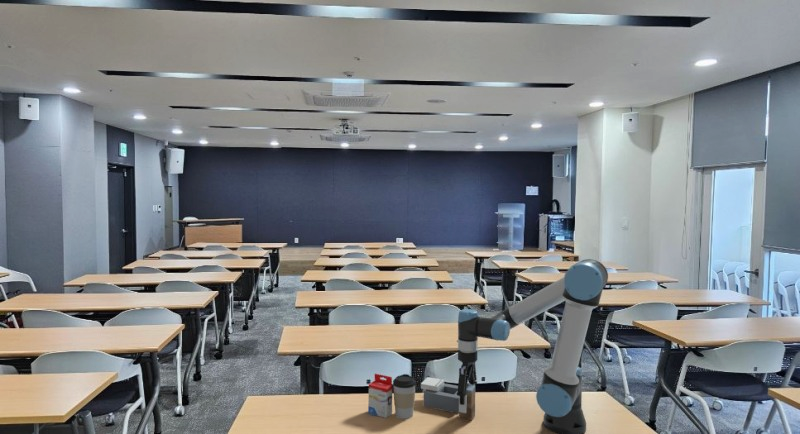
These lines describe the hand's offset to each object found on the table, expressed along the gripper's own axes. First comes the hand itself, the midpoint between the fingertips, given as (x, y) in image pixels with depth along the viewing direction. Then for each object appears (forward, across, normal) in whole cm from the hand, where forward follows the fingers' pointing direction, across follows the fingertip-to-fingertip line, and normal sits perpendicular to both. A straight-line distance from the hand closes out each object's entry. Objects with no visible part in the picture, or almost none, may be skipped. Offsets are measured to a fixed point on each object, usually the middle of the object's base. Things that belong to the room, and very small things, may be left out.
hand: (467, 406), depth 179 cm
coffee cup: (+5, +8, -23) cm, 25 cm away
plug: (+5, 0, 0) cm, 5 cm away
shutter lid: (-2, -8, -17) cm, 19 cm away
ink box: (+5, +12, -32) cm, 34 cm away
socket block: (+4, -8, -12) cm, 15 cm away
